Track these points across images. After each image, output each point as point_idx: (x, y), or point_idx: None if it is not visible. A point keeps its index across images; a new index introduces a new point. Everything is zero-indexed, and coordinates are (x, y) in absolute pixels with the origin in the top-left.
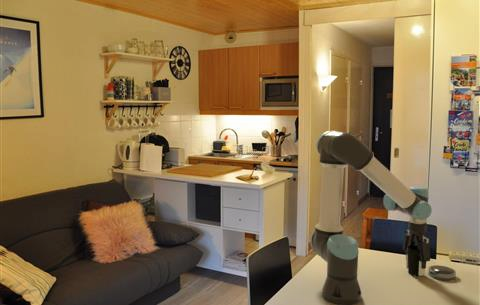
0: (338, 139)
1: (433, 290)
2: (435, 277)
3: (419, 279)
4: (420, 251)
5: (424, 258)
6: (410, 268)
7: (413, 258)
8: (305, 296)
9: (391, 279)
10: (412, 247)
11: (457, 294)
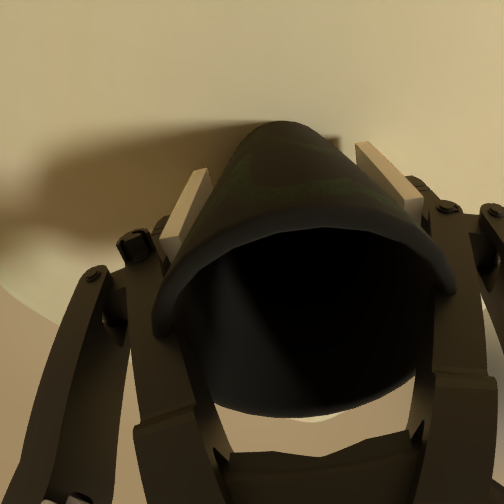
0: None
1: (28, 170)
2: None
3: (175, 151)
4: (137, 336)
5: (88, 287)
6: (265, 132)
7: (215, 189)
8: None
9: None
10: (420, 320)
11: (20, 258)
